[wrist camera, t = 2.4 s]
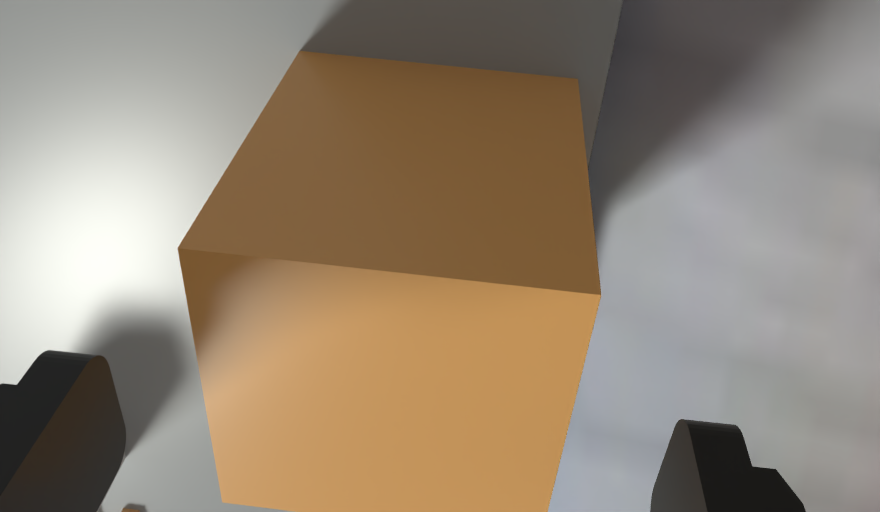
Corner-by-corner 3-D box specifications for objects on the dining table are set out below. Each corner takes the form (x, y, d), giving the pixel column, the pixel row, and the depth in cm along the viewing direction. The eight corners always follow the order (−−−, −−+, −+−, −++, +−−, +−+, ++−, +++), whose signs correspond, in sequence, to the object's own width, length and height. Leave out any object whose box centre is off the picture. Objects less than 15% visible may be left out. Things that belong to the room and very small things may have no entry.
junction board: (-382, -178, 14) (-826, -106, 9) (629, -85, 13) (678, 42, 9) (-19, 533, 27) (-130, 705, 23) (493, 597, 26) (484, 789, 22)
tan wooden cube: (299, 50, 14) (177, 247, 9) (578, 78, 14) (601, 294, 9) (310, 268, 17) (222, 502, 12) (538, 294, 17) (540, 541, 12)
